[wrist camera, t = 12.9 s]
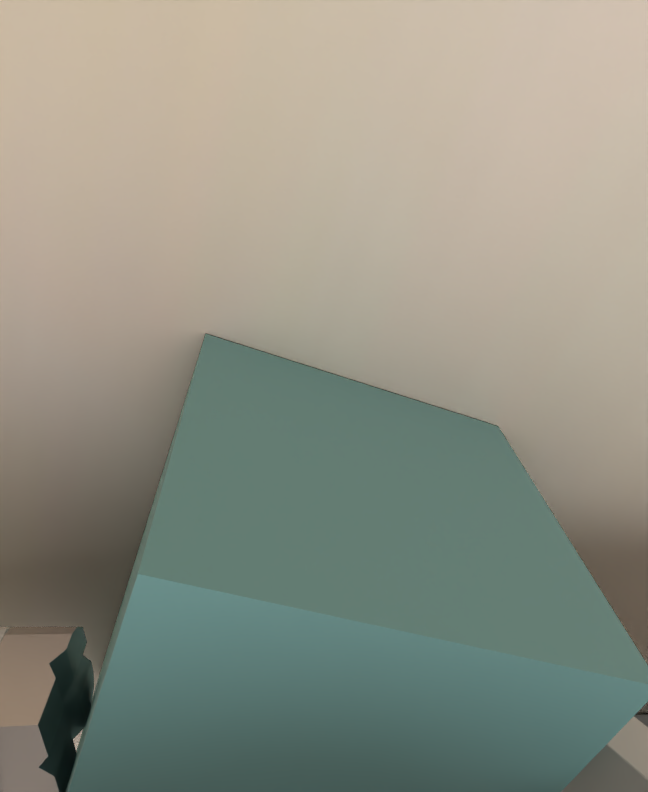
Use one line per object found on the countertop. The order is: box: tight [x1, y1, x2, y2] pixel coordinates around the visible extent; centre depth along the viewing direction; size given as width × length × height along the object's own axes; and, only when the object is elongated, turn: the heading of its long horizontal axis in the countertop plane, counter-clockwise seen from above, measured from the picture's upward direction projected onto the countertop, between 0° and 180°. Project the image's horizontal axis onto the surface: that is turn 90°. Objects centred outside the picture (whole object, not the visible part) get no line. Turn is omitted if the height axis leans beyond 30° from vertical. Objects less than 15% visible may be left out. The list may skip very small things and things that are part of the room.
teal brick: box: [66, 334, 648, 792], centre depth 9 cm, size 5×8×5 cm, turn 159°
